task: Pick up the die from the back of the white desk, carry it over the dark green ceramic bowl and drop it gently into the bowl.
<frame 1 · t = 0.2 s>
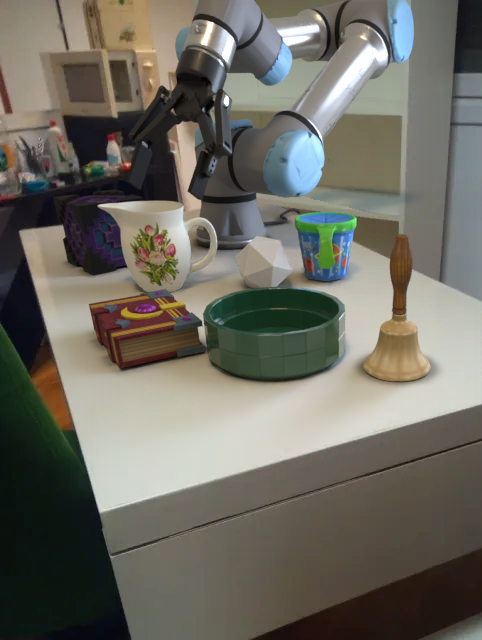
hand: (162, 190, 94), 15 cm above the table, tool tilted 35°, fingers open, 13 cm apart
die: (264, 288, 101), on the table
hand bell: (396, 368, 73), on the table
energy cube: (110, 263, 115), on the table
snack cup: (326, 277, 106), on the table
decorative book: (146, 342, 81), on the table
pitcher: (168, 287, 102), on the table
bowl: (276, 352, 77), on the table
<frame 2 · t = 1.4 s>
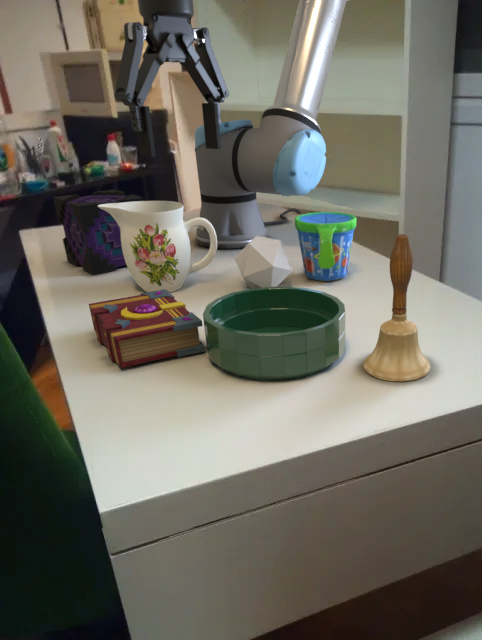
hand: (182, 152, 92), 21 cm above the table, tool pointing down, fingers open, 13 cm apart
nothing on the table moved.
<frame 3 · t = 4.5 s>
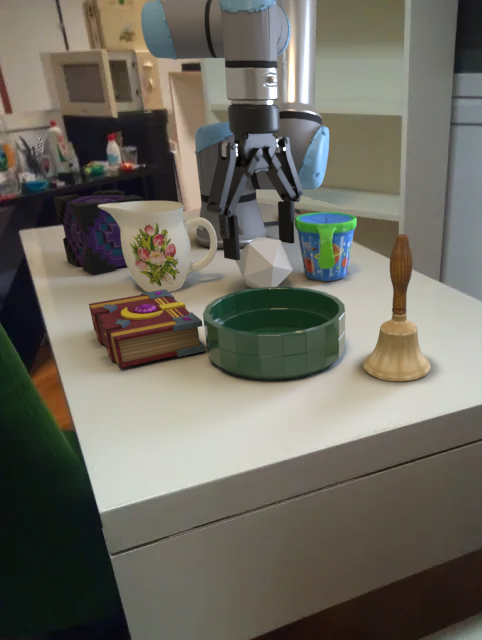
hand: (260, 250, 97), 6 cm above the table, tool pointing down, fingers open, 13 cm apart
snack cup: (326, 277, 106), on the table, touching gripper
everything else where it was.
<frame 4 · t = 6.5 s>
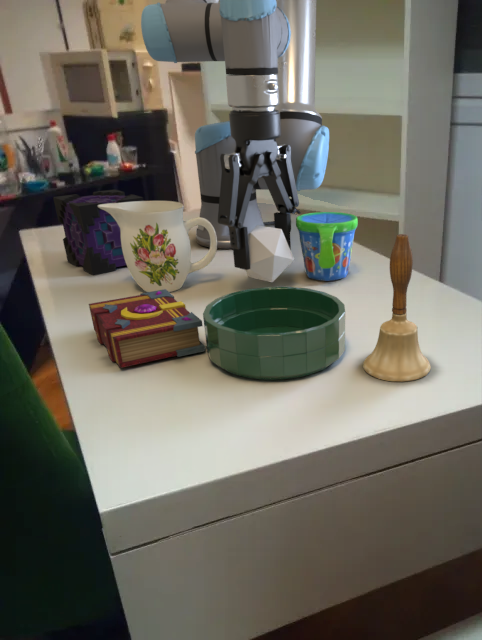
hand: (263, 260, 99), 5 cm above the table, tool pointing down, fingers closed on die, 10 cm apart
die: (266, 278, 100), point 1 cm above the table, touching gripper
snack cup: (326, 277, 106), on the table
everything else where it was.
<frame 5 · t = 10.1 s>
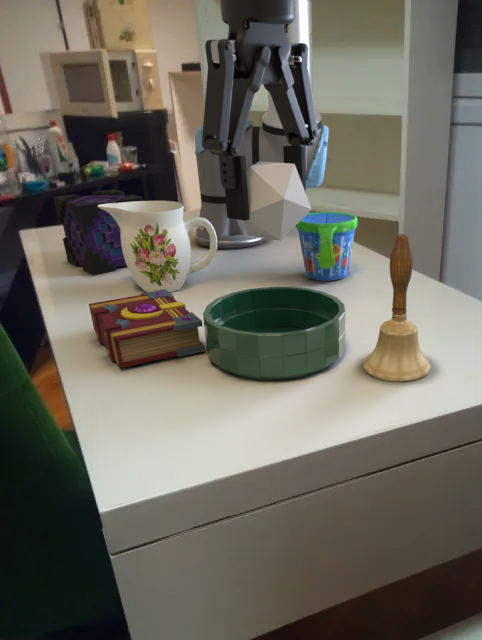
hand: (268, 210, 70), 17 cm above the table, tool pointing down, fingers closed on die, 10 cm apart
die: (272, 237, 72), point 14 cm above the table, touching gripper
everything else where it was.
when the fingers open (4 cm above the table, at t = 13.9 s): die stays where it is, resting on bowl.
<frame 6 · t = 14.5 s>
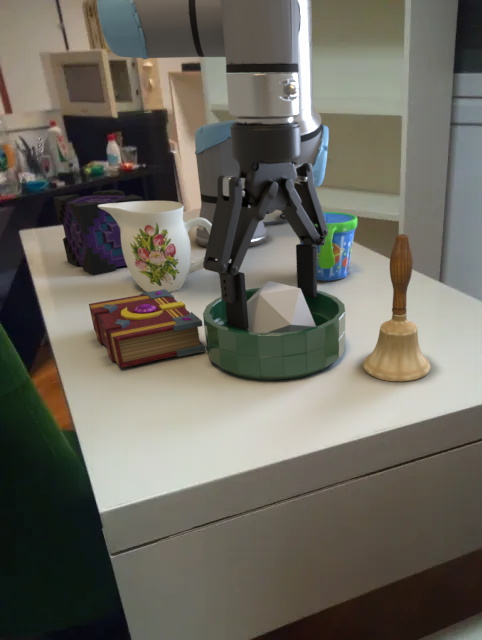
hand: (274, 310, 74), 6 cm above the table, tool pointing down, fingers open, 13 cm apart
die: (278, 349, 77), point 1 cm above the table, touching bowl
everything else where it was.
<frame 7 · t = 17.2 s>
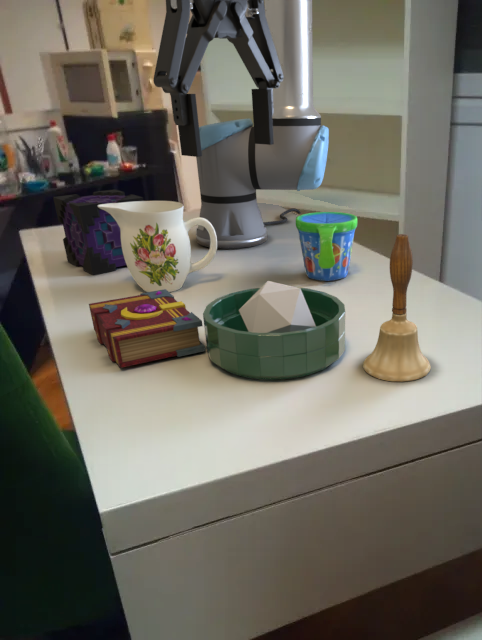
hand: (230, 149, 76), 23 cm above the table, tool pointing down, fingers open, 13 cm apart
nothing on the table moved.
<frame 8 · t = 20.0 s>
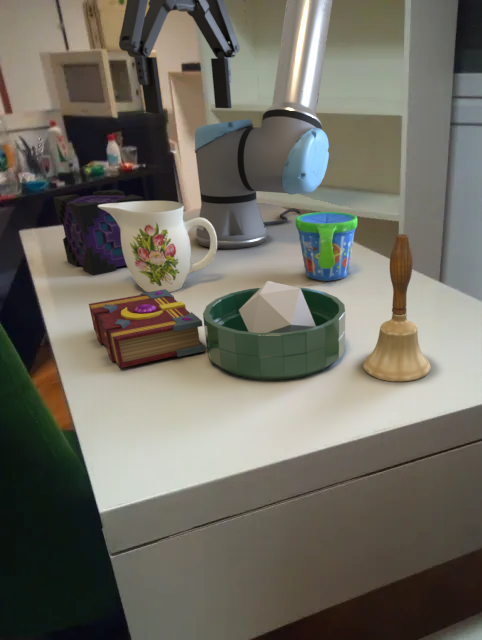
hand: (190, 110, 86), 27 cm above the table, tool pointing down, fingers open, 13 cm apart
nothing on the table moved.
at the end: die inside the target area in the bowl (0.4 cm from its centre), point 0.6 cm above the bowl's base; the gripper is holding nothing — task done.
